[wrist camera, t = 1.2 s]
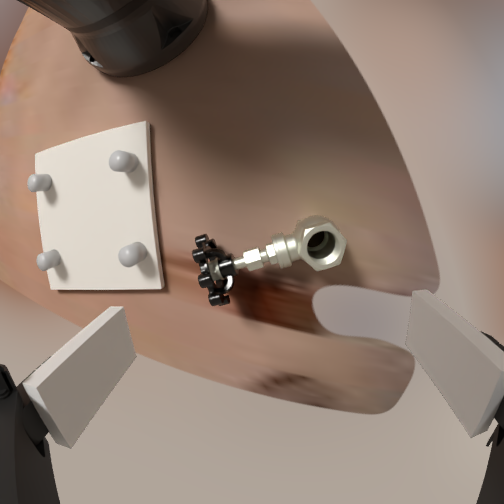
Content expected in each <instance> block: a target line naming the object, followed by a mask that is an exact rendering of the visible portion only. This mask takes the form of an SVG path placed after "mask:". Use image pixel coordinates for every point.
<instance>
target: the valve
mask: <svg viewBox="0 0 504 504" xmlns="http://www.w3.org/2000/svg"><path fill="white" fill-rule="evenodd" d="M319 231H324V232H325V237H324V240H323V241H322V243H321V244H320V245H318V246H316V247H307V244H308V241H309V239H310V238H311V236H312V235H314V234H315V233H317V232H319ZM271 239H272V243H269V244H266V248H265V249H261V250H260V249H259V247H255V248H252V249H248V250H245V251H244V252H243V255H244V256H241V257H238V258H235V257H234V256H233V254H228V255H226V254H225V253H224V252H223V251H222V250H220V249H215V248H217V245H216V242H215V240H214V239H210V240H209V237H208V235H207V234H203V235H200V236H197V237H195V242H196V245H197V247H198V249H195V250H193V252H192V255H193V258H194V261H195V262H196V263H199V266H200V270H201V274H200V275H199V276H198V281H199V284H200V286H201V288H206V287H207V288H208V290H209V295H208V298H209V302H210V304H211V305H212V306H216V305H219V306H222V305H226V304H229V303H230V298H229V295H227V296H224V295H223V294H225V293H228V292H229V291H230V290H231V289H232V288H233V286H234V276H238V274H239V272H238V269H241V268H245V267H247V268H248V270H249V271H252V270H255V269H259V268H262V267H264V263H265V262H270V263H271V264H272V265H273V264H276V263H279V266H280V268H281V269H283V268H286V267H289V266H292V262H293V261H296V260H303V261H305V262H307V263H308V264H309V265H310V266H311V267H312V268H314V269H315V270H316V271H320V270H324V269H328V268H331V267H334V266H337V265H339V264H340V263H341V261H342V258H343V254H344V251H345V247H346V242H347V240H346V239H345V238H344V237H343V235H342V234H341V233H340V231H339V229H338V227H337V226H336V224H335V223H334V222H333V221H331V220H330V219H328V218H327V217H324V216H318V215H315V216H310V217H307V218H305V219H302V220H298V221H297V225H296V228H295V230H294V232H293V233H291V234H288V235H283V233H282V232H281V233H278V234H274V235H272V236H271ZM208 258H209V260H210V262H208ZM215 280H216V284H215V283H214V281H215Z"/></svg>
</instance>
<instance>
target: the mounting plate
mask: <svg viewBox="0 0 504 504" xmlns="http://www.w3.org/2000/svg"><path fill="white" fill-rule="evenodd" d="M35 171H36V174H32V175H31V176H30V177H29V179H28V189H29V190H30V191H31V192H37V205H38V215H39V224H40V232H41V239H42V246H43V252H44V253H41V254H39V255H38V256H37V265H38V267H39V269H40V270H42V271H46V270H47V273H48V278H49V283H50V287H51V289H54V290H129V289H162V288H163V287H164V286H165V284H164V278H163V271H162V264H161V257H160V249H159V241H158V233H157V224H156V214H155V204H154V193H153V180H152V165H151V146H150V123H149V122H147V121H143V122H138V123H134V124H130V125H126V126H122V127H118V128H114V129H110V130H106V131H103V132H99V133H96V134H92V135H89V136H85V137H82V138H79V139H76V140H73V141H70V142H67V143H64V144H61V145H58V146H55V147H52V148H49V149H47V150H44V151H41V152H39V153H36V154H35Z"/></svg>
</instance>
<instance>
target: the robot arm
mask: <svg viewBox="0 0 504 504" xmlns="http://www.w3.org/2000/svg"><path fill="white" fill-rule="evenodd" d="M18 1H19V2H22V3H23V4H25V5H27V6H29V7H30V8H32V9H34V10H36V11H37V12H39V13H41V14H43V15H44V16H46V17H48V18H50V19H51V20H53V21H55V22H56V23H58V24H60V25H61V26H63V27H64V28H66V29H67V30H69V31H70V32H71V33H72V35H73V37H74V39H75V41H76V43H77V45H78V47H79V49H80V51H81V52H82V54H83V56H84V58H85V59H86V60H87V61H88V63H90V64H91V65H92V66H93V67H95V68H97V69H98V70H100V71H102V72H103V73H105V74H108V75H111V76H117V77H128V76H135V75H139V74H143V73H146V72H149V71H151V70H154V69H156V68H158V67H160V66H162V65H164V64H166V63H167V62H169V61H170V60H172V59H173V58H175V57H176V56H178V55H179V54H180V53H181V52H182V51H184V50H185V49H186V48H187V47H188V46H189V45H190V44H191V43H192V42H193V40H194V39H195V38H196V37H197V35H198V34H199V32H200V31H201V29H202V27H203V25H204V23H205V20H206V16H207V10H208V6H207V0H18ZM405 344H406V346H407V347H408V348H409V350H410V351H411V353H412V354H413V355H414V357H415V358H416V359H417V361H418V362H419V363H420V365H421V366H422V367H423V369H424V370H425V371H426V373H427V374H428V376H429V377H430V378H431V380H432V381H433V383H434V384H435V386H436V387H437V388H438V390H439V391H440V393H441V394H442V396H443V397H444V398H445V400H446V401H447V403H448V404H449V406H450V407H451V408H452V410H453V411H454V413H455V415H456V416H457V417H458V419H459V421H460V422H461V424H462V425H463V427H464V428H465V430H466V431H467V433H468V435H469V436H470V438H472V437H474V436H476V435H478V434H481V433H483V432H485V431H487V430H488V428H489V426H490V424H491V422H492V420H493V419H494V418H495V419H496V421H497V422H498V425H497V427H496V429H495V430H494V432H493V434H492V436H491V437H490V439H489V441H488V443H487V445H486V446H489V445H490V443H491V442H492V441H493V443H492V448H491V453H490V457H489V461H488V466H487V470H486V474H485V478H484V481H483V484H482V488H481V491H480V494H479V497H478V500H477V503H476V504H504V346H503V345H501V344H499V342H498V341H497V340H495V339H494V338H493V337H492V336H490V335H488V334H485V333H483V332H480V331H479V330H478V329H476V328H475V327H474V326H473V325H472V324H470V323H469V322H468V321H467V320H465V319H464V318H463V317H462V316H460V315H459V314H458V313H457V312H455V311H454V310H453V309H452V308H450V307H449V306H448V305H447V304H445V303H444V302H442V301H441V300H440V299H439V298H437V297H436V296H435V295H433V294H432V293H431V292H430V291H428V290H427V289H424V290H416V291H413V292H412V302H411V309H410V318H409V325H408V332H407V337H406V343H405ZM135 358H136V353H135V349H134V346H133V342H132V338H131V335H130V331H129V327H128V323H127V319H126V315H125V310H124V307H112V306H110V307H109V308H108V309H107V310H105V311H104V312H103V313H102V314H101V315H99V316H98V317H97V318H96V319H95V320H93V321H92V322H91V323H90V324H89V325H87V326H86V327H85V328H84V329H83V330H81V331H80V332H79V333H78V334H77V335H76V336H74V337H73V338H72V339H71V340H70V341H69V342H67V343H66V344H65V345H64V346H63V347H62V348H60V349H59V350H58V351H57V352H56V353H55V354H54V355H52V356H51V357H49V358H48V359H47V360H46V361H45V362H44V363H42V365H40V366H39V367H38V368H37V370H35V371H33V372H32V373H31V374H30V375H29V376H28V377H27V378H26V379H25V380H24V381H22V382H21V383H20V384H19V385H18V386H17V387H16V386H15V384H14V381H13V379H12V377H11V375H10V373H9V371H8V369H7V367H6V366H5V365H2V364H0V504H60V501H59V497H58V493H57V488H56V484H55V479H54V474H53V469H52V463H51V457H50V450H49V444H48V441H47V440H46V438H45V436H46V434H47V433H48V432H49V433H50V434H51V436H52V438H53V439H54V441H55V442H56V443H57V444H60V445H62V446H65V447H68V448H72V447H73V445H74V444H75V443H76V441H77V440H78V438H79V437H80V435H81V434H82V432H83V431H84V430H85V428H86V427H87V425H88V424H89V422H90V421H91V419H92V418H93V417H94V415H95V414H96V412H97V411H98V410H99V408H100V406H101V405H102V404H103V403H104V401H105V400H106V398H107V397H108V395H109V394H110V393H111V391H112V390H113V389H114V387H115V386H116V384H117V383H118V382H119V380H120V379H121V378H122V376H123V375H124V373H125V372H126V371H127V369H128V368H129V367H130V365H131V364H132V363H133V361H134V360H135Z"/></svg>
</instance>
